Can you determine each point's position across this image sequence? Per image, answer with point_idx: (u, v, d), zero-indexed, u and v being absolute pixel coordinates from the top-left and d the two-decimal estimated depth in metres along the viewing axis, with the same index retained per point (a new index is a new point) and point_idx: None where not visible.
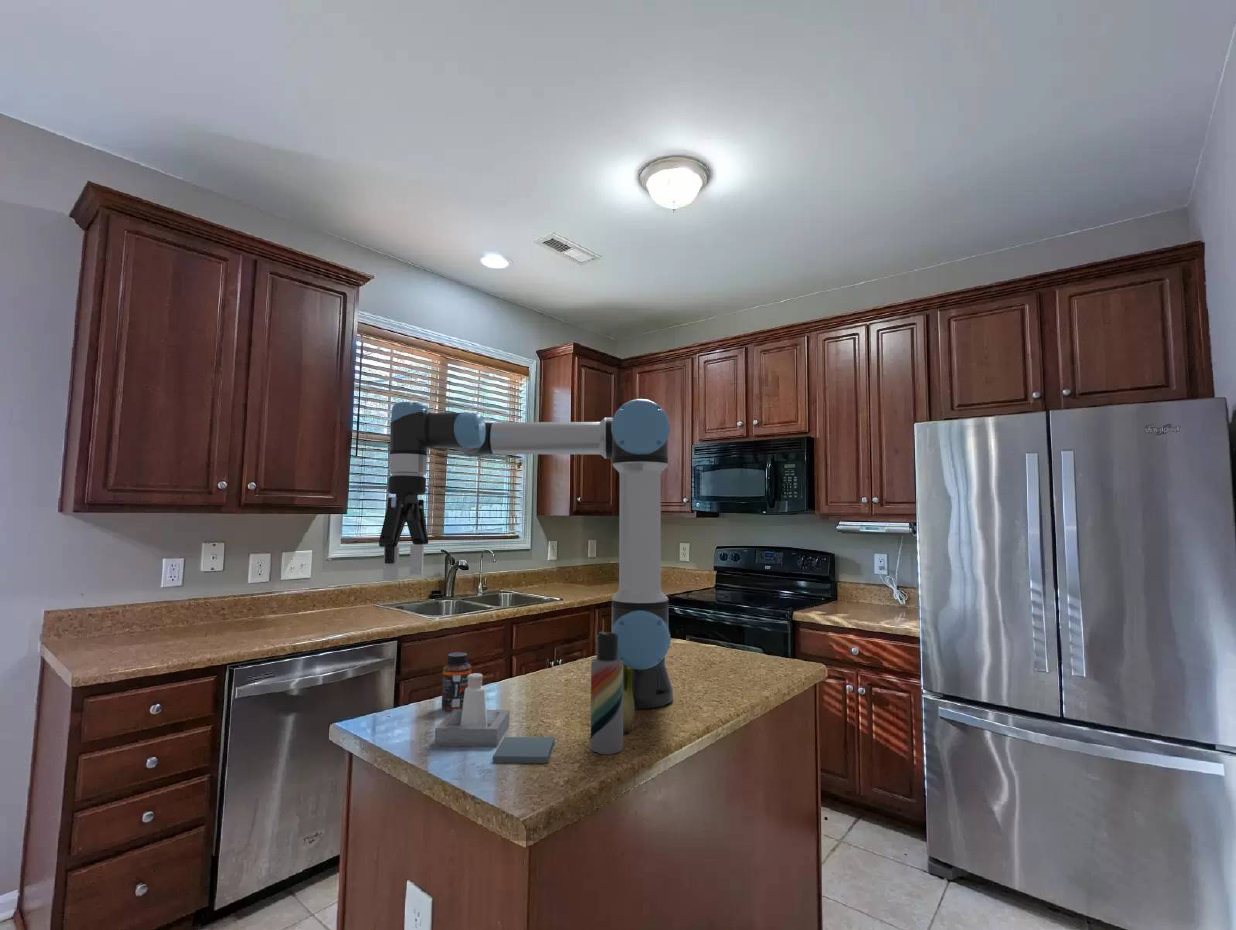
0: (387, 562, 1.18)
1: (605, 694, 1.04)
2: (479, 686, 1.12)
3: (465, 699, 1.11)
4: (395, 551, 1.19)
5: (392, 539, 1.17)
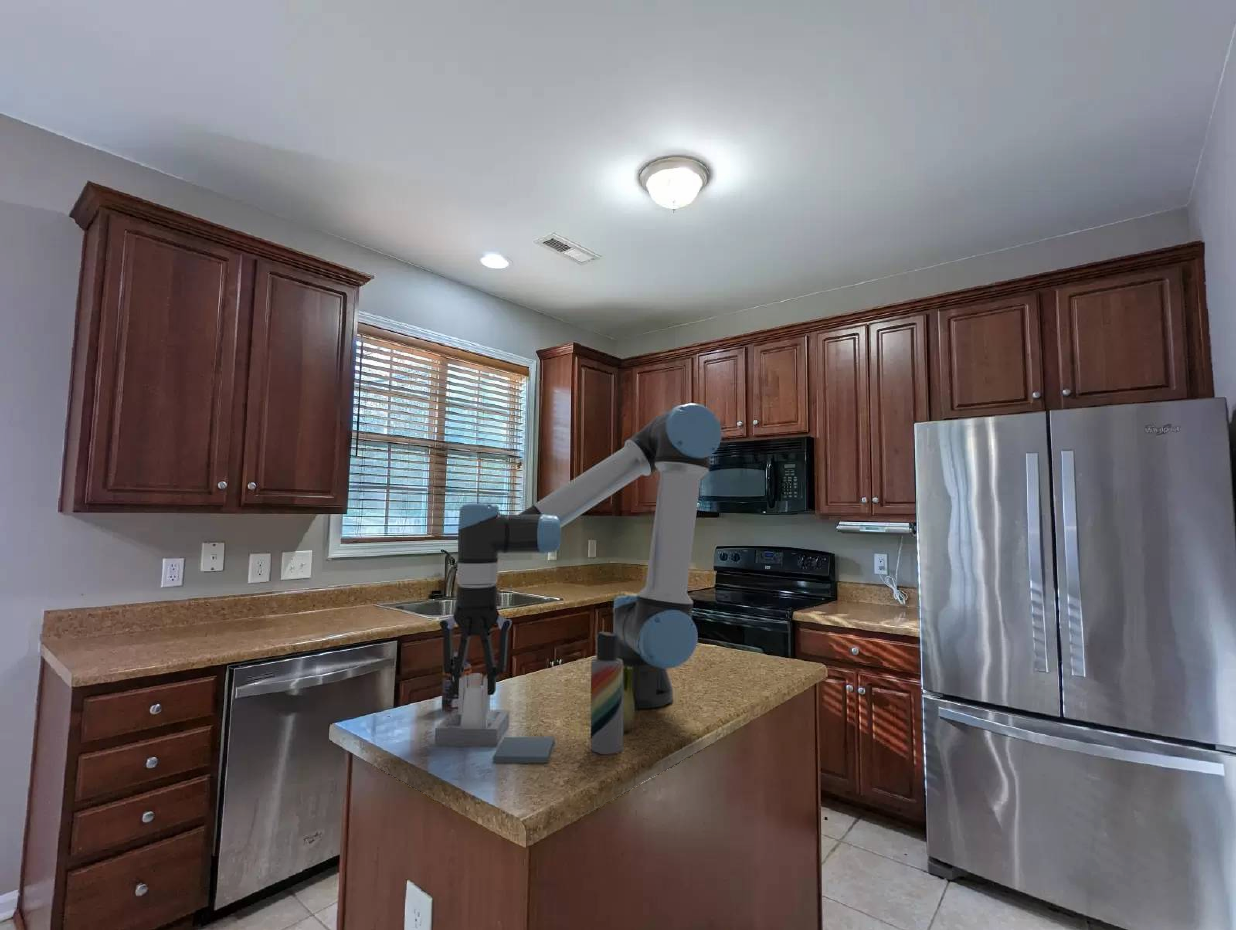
0: None
1: (605, 694, 1.04)
2: (479, 686, 1.12)
3: (465, 699, 1.11)
4: None
5: (445, 669, 1.12)
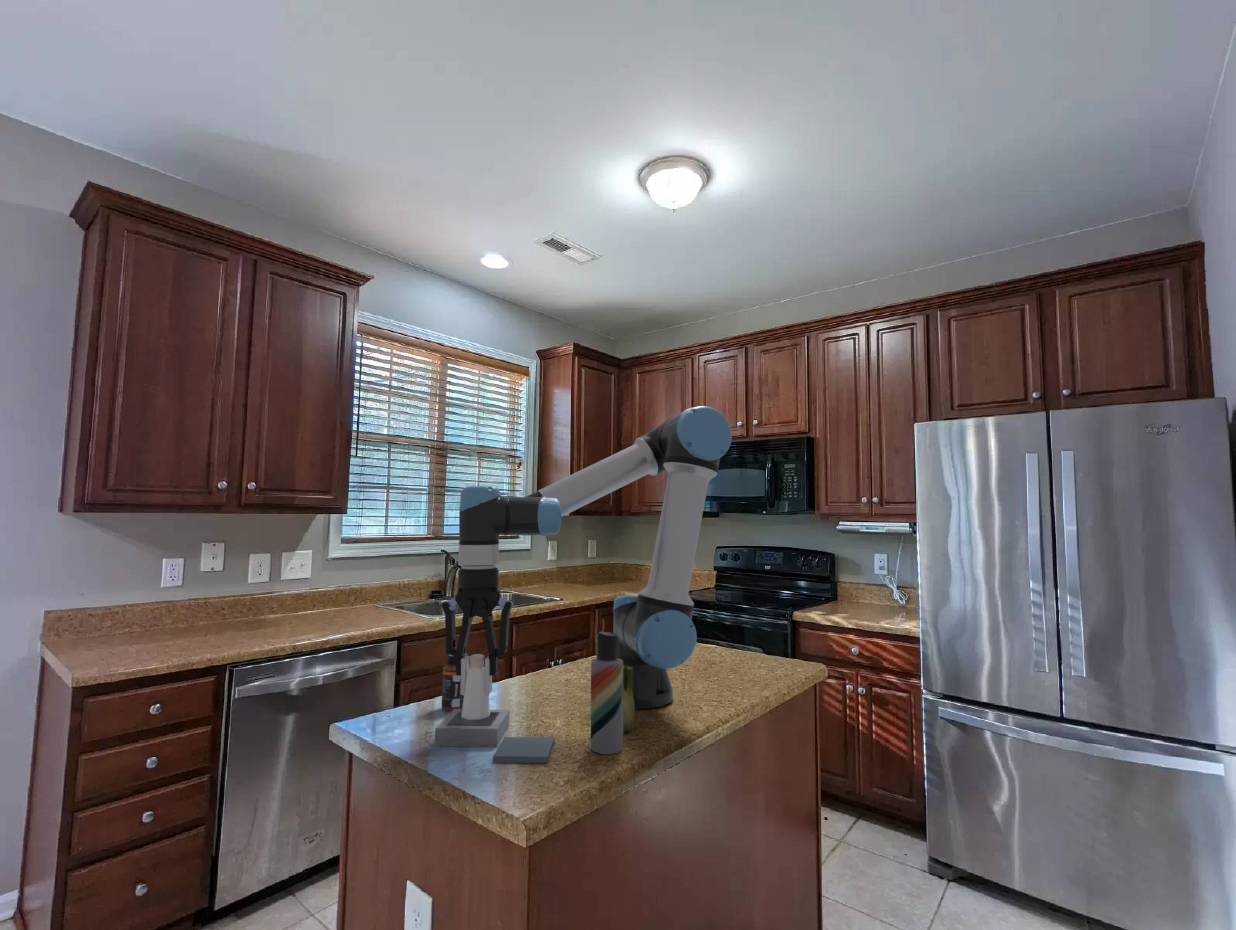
0: None
1: (605, 694, 1.04)
2: (481, 666, 1.13)
3: (467, 679, 1.12)
4: None
5: (447, 650, 1.13)
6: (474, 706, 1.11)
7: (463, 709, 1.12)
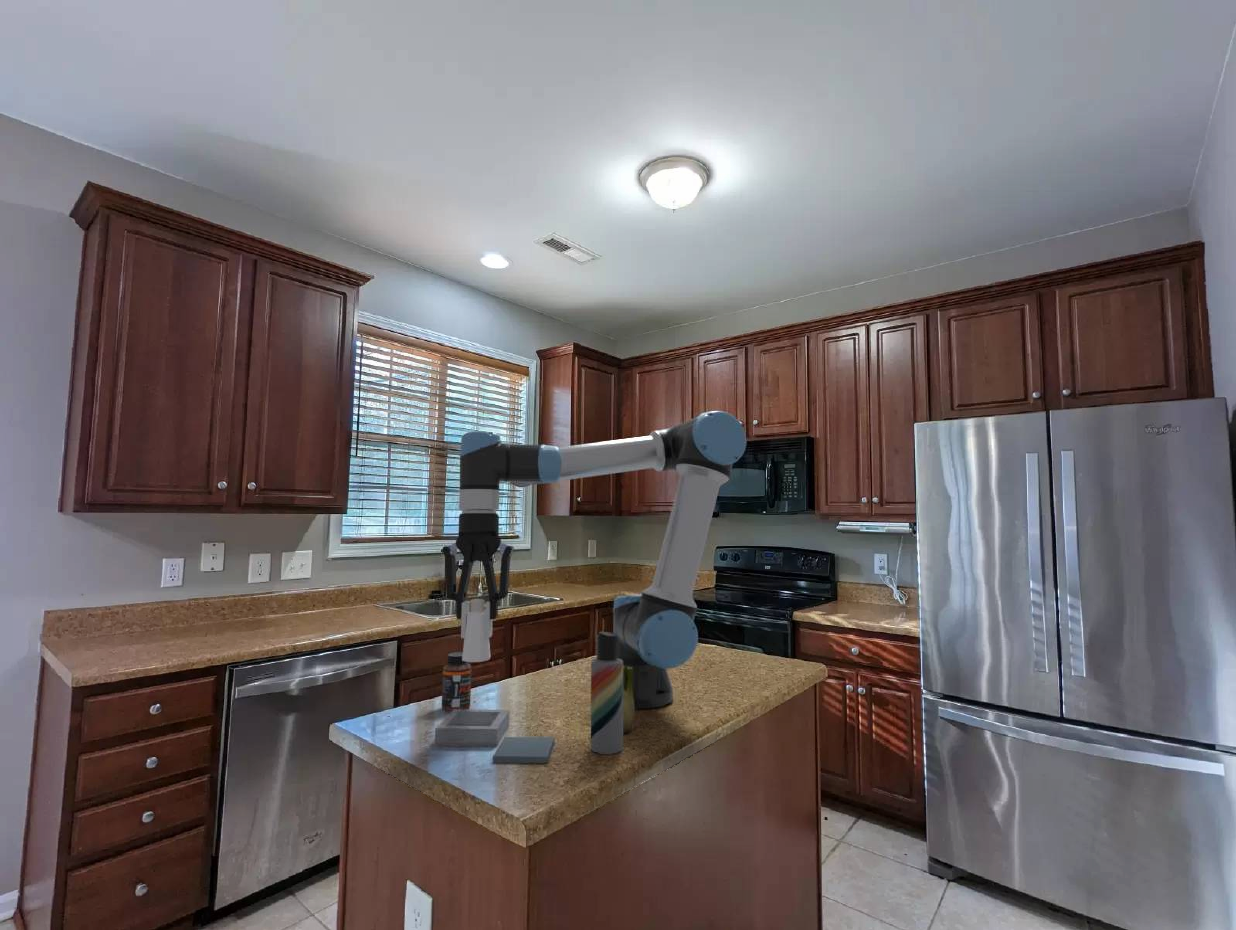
0: None
1: (605, 694, 1.04)
2: (481, 610, 1.14)
3: (468, 623, 1.13)
4: (462, 606, 1.14)
5: (448, 594, 1.13)
6: (475, 649, 1.11)
7: (463, 652, 1.12)
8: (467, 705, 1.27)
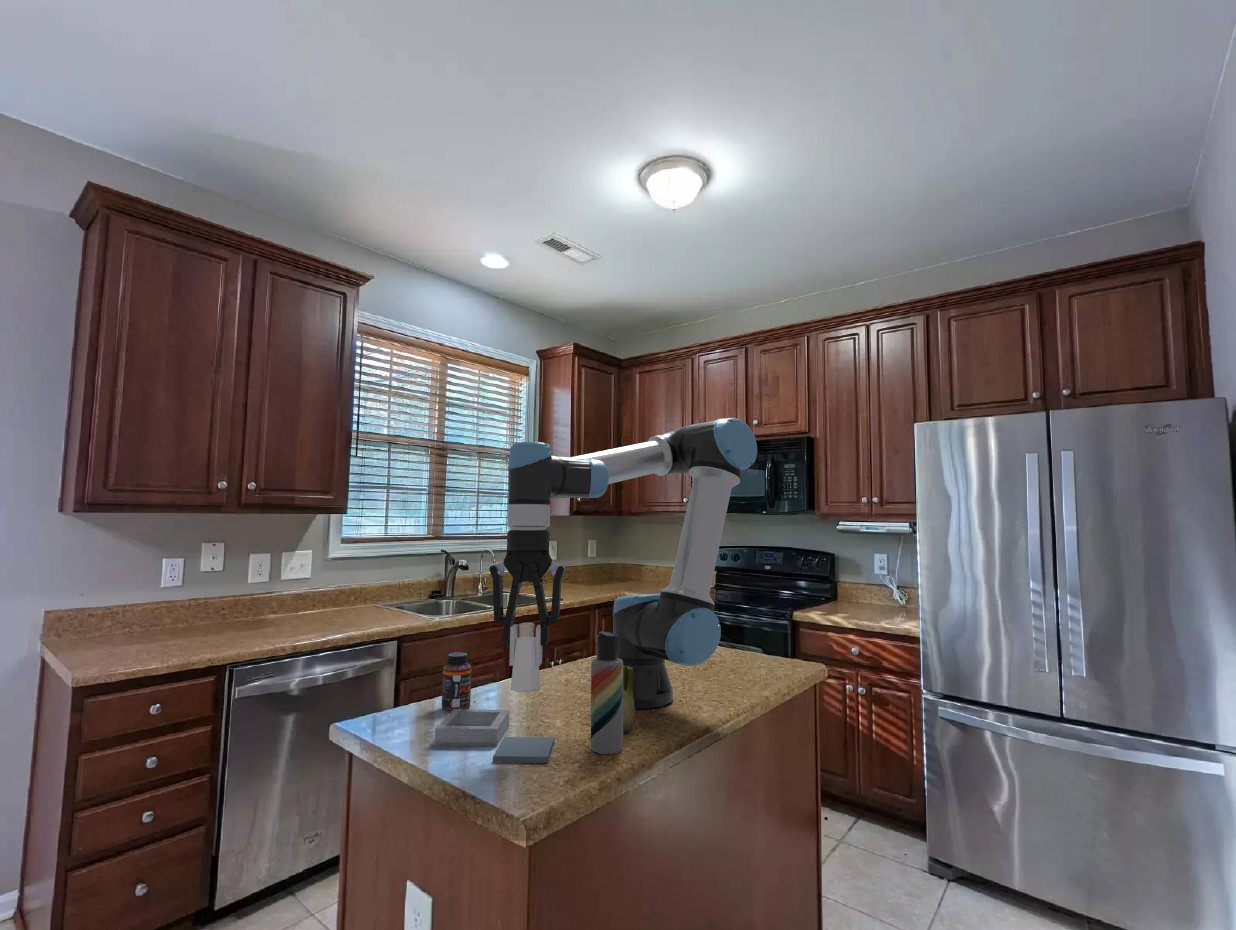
0: None
1: (605, 694, 1.04)
2: (531, 635, 1.05)
3: (517, 649, 1.04)
4: None
5: (495, 618, 1.05)
6: (525, 678, 1.03)
7: (512, 681, 1.03)
8: (467, 705, 1.27)
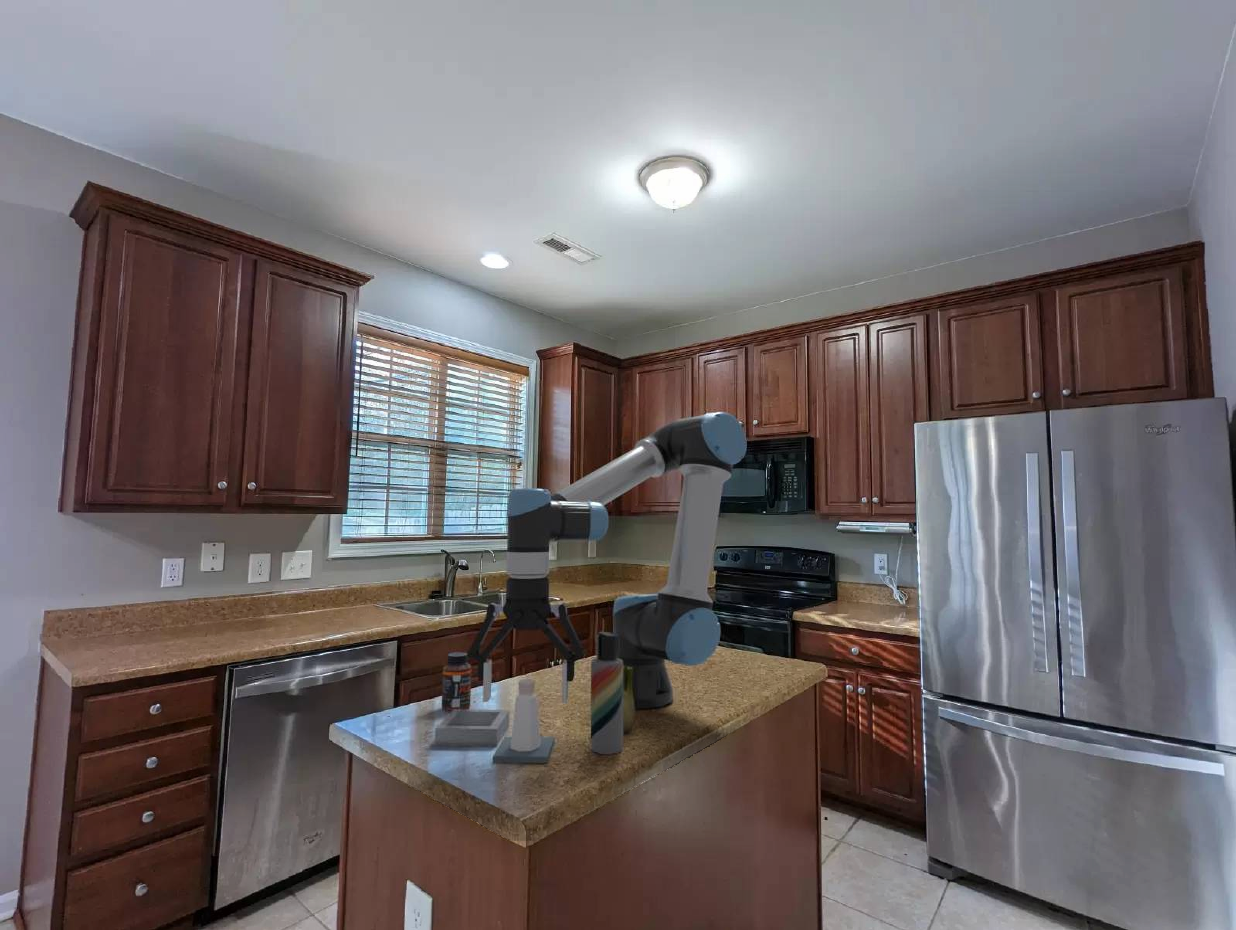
0: None
1: (605, 694, 1.04)
2: (531, 693, 1.04)
3: (516, 707, 1.03)
4: (484, 667, 1.04)
5: (469, 653, 1.04)
6: (525, 737, 1.02)
7: (512, 739, 1.03)
8: (467, 705, 1.27)
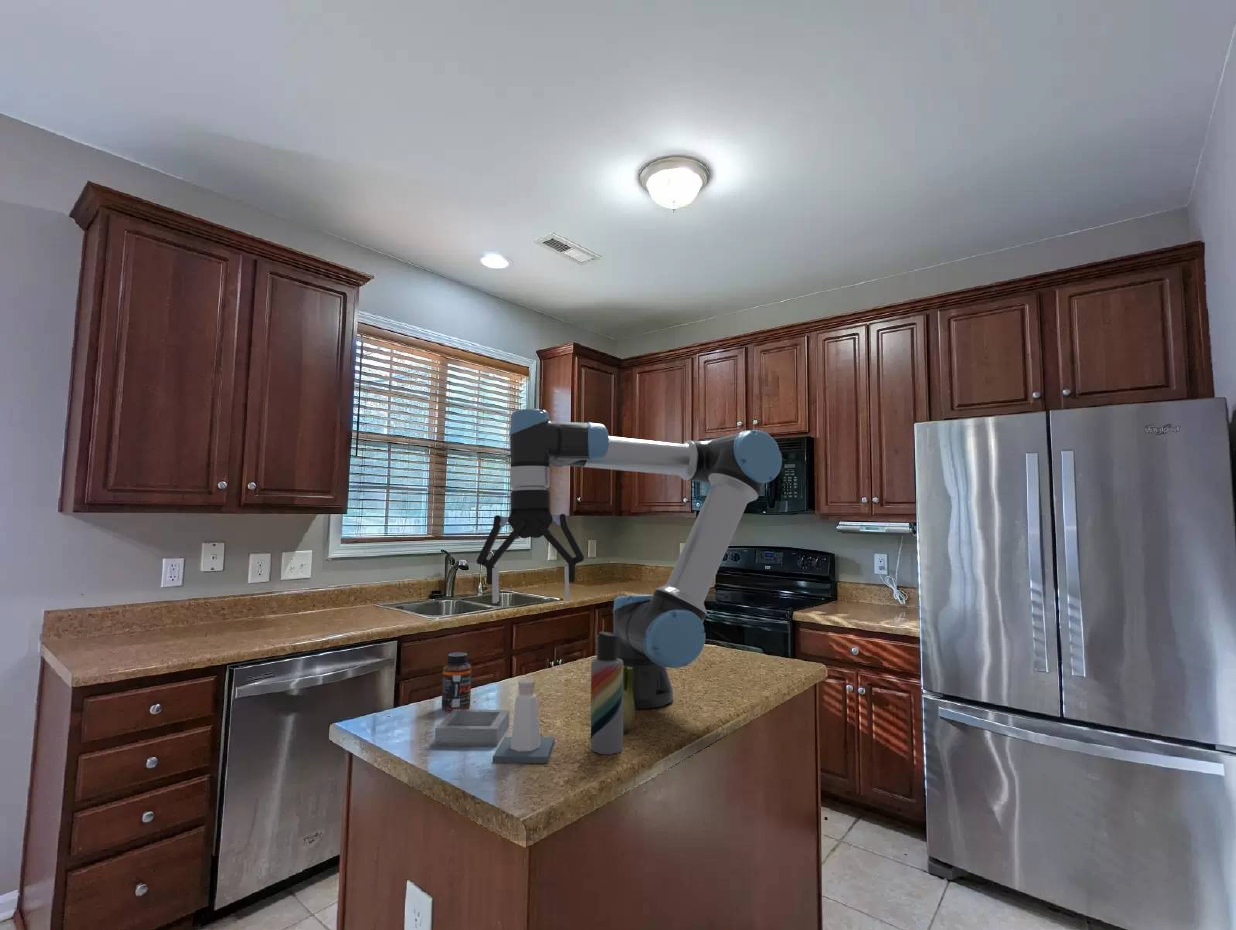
0: None
1: (605, 694, 1.04)
2: (531, 693, 1.04)
3: (516, 707, 1.03)
4: None
5: (479, 559, 1.14)
6: (525, 737, 1.02)
7: (512, 739, 1.03)
8: (467, 705, 1.27)
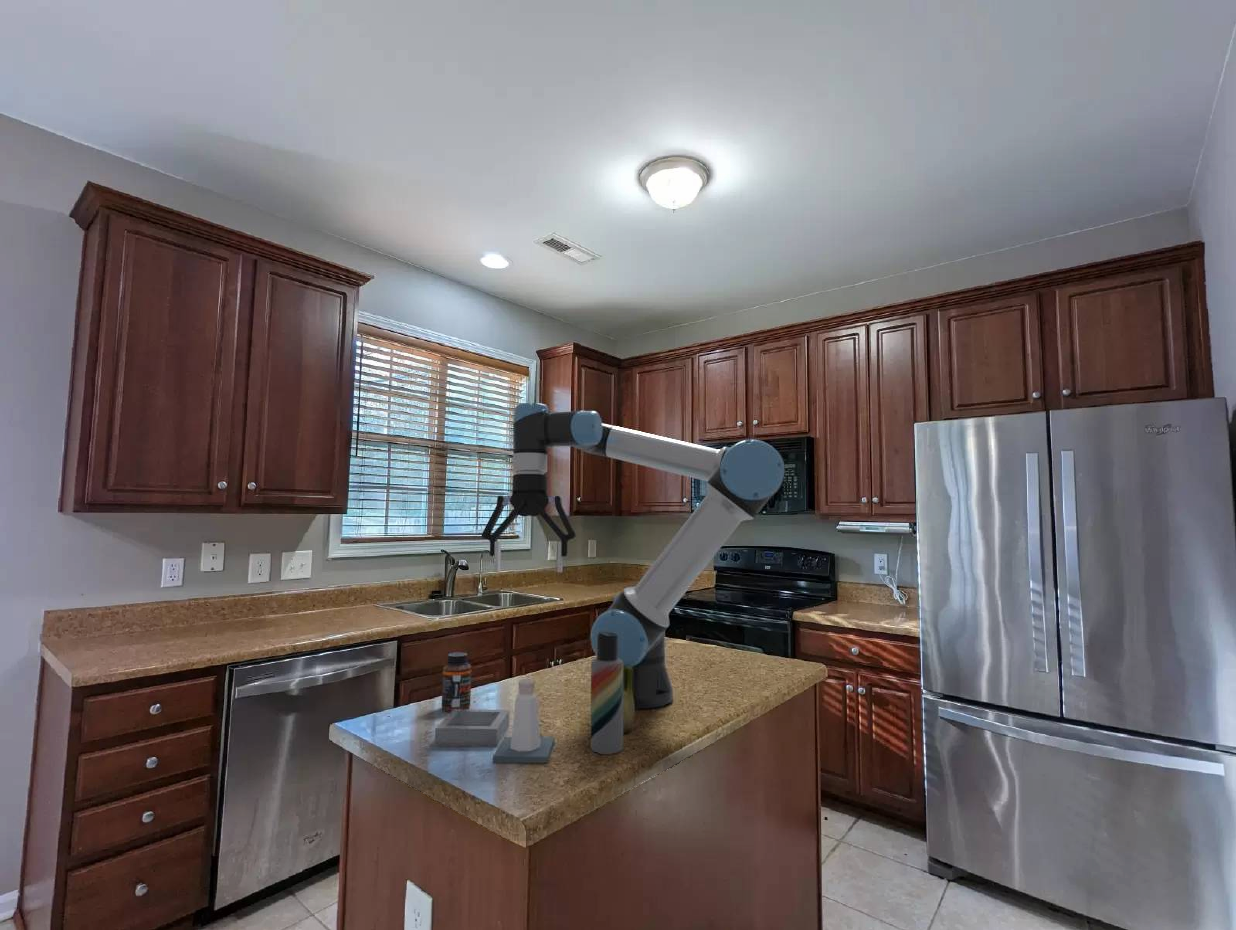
0: None
1: (605, 694, 1.04)
2: (531, 693, 1.04)
3: (516, 707, 1.03)
4: (495, 545, 1.30)
5: (483, 534, 1.30)
6: (525, 737, 1.02)
7: (512, 739, 1.03)
8: (467, 705, 1.27)
